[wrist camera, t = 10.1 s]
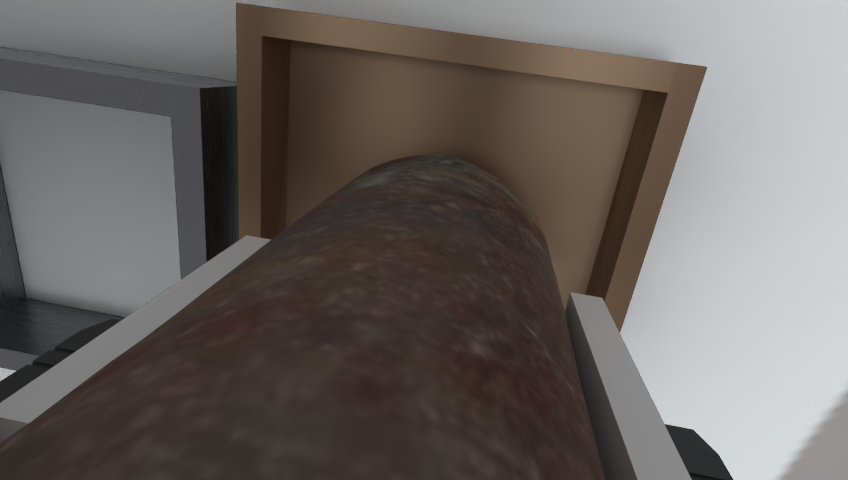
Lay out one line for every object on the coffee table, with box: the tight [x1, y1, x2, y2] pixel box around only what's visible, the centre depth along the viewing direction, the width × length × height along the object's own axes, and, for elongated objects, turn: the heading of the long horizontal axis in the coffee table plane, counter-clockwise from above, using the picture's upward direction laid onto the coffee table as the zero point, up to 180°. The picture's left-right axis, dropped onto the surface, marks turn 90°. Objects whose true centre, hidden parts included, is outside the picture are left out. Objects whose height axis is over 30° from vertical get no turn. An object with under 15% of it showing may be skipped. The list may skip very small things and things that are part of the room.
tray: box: [236, 3, 707, 333], centre depth 17 cm, size 14×14×3 cm
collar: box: [0, 47, 239, 371], centre depth 19 cm, size 12×12×4 cm
